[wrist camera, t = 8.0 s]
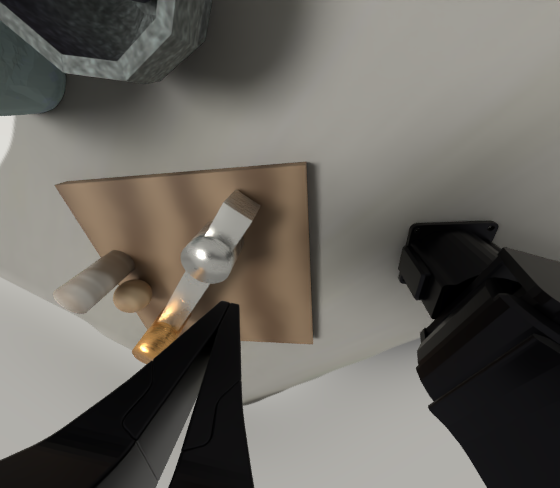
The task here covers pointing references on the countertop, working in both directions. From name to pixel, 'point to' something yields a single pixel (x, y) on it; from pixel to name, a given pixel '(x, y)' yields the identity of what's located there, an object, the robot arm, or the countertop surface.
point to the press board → (184, 227)
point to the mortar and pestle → (111, 34)
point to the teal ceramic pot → (26, 77)
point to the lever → (200, 271)
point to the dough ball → (132, 296)
